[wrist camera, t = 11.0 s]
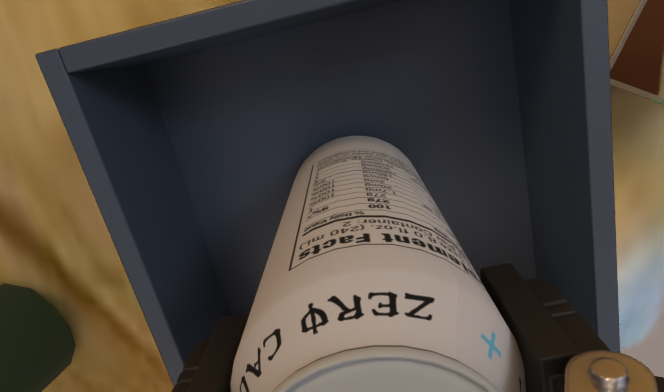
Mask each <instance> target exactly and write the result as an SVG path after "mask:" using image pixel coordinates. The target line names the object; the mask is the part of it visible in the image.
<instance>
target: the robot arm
mask: <svg viewBox="0 0 664 392" xmlns="http://www.w3.org/2000/svg"><path fill="white" fill-rule="evenodd" d="M480 279H481V282H482V283H483V285H484V287H485V288H486V290H487V292H488V293H489V295H490V297H491V299H492V300H493V302H494V304H495V305H496V307H497V309H498V310H499V312H500V314H501V316H502V317H503V319H504V321H505V322H506V324H507V326H508V327H509V329H510V331H511V332H512V334H513V336H514V338H515V339H516V341H517V344H518V347H519V350H520V353H521V356H522V360H523V364H524V371H525V382H526V392H664V378H663V377H657V376H654V375H653V373H652V372H651V371H650V370H649V368H648V367H646V366H645V365H644V364H643V363H641V362H640V361H638V360H636V359H634V358H632V357H630V356H628V355H625V354H622V353H618V352H614V351H611V350H610V349H609V348H608V347H607V345H606V344H605V343H604V342H603V341H602V340H601V339H600V337H599V336H598V335H597V334H596V333H595V332H594V331H593V329H592V328H591V327H590V326H589V325H588V324H587V323H586V321H585V320H584V319H583V318H582V317H581V316H580V315H579V313H576V310H575V309H574V308H573V307H572V305H571V304H570V303H569V302H567V300H566V298H565V297H564V296H563V295H562V294H561V293H560V292H559V290H558V289H557V288H556V287H554V286H553V285H551V284H549V283H547V282H545V281H543V280H541V279H539V278H534V279H528V280H524V279H523V278H522V276H521V275H520V274H519V273H518V271H517V270H516V269H515V267H514V266H513V265H512V264H511V263H505V264H500V265H495V266H489V267H484V268H481V269H480ZM248 317H249V313H242V314H237V315H232V316H227V317H222V318H220V319H219V321H218V323H217V325H216V328H215V330H214V332H213V334H212V337H211V339H206V340H203V341H202V342H201V343H200V344H199V345H198V346H197V347H196V348H195V349H194V350H193V351H192V352H191V354H190V355H189V357H188V359H187V361H186V363H185V365H184V367H183V372H181V373H180V375H179V377H178V380H177V385H175V386H174V388H173V390H172V392H231V386H230V383H231V377H232V370H233V364H234V359H235V356H236V353H237V350H238V347H239V344H240V341H241V338H242V335H243V332H244V329H245V326H246V323H247V320H248Z"/></svg>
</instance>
